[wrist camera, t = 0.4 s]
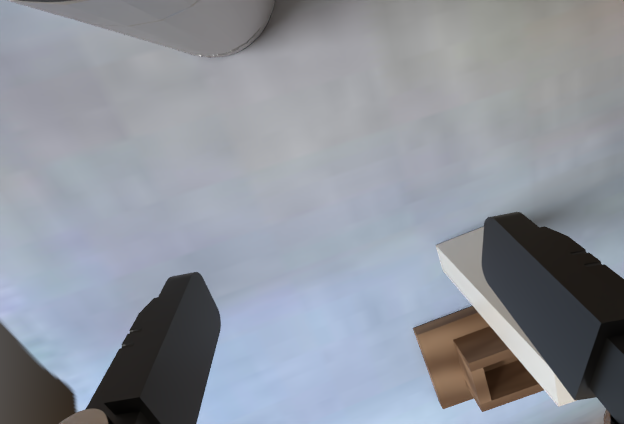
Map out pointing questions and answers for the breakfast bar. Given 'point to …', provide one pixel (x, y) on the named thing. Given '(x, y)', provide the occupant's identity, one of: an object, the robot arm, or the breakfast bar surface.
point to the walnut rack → (472, 362)
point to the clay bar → (495, 308)
